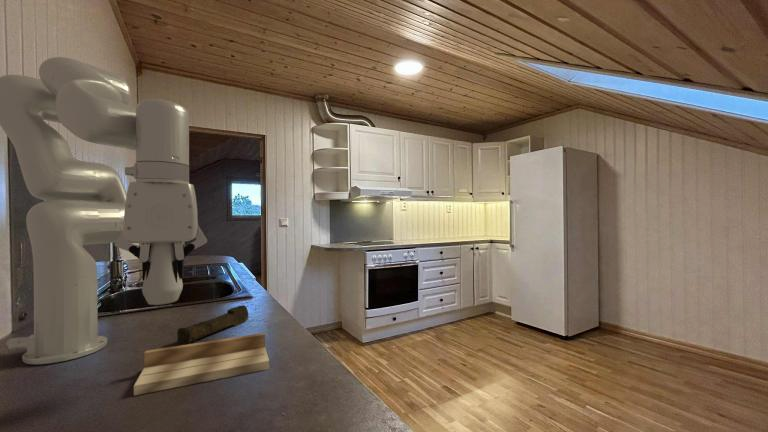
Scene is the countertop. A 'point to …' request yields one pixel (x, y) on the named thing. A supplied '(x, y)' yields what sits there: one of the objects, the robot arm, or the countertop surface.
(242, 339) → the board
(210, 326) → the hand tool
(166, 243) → the salt shaker
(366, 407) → the countertop surface
